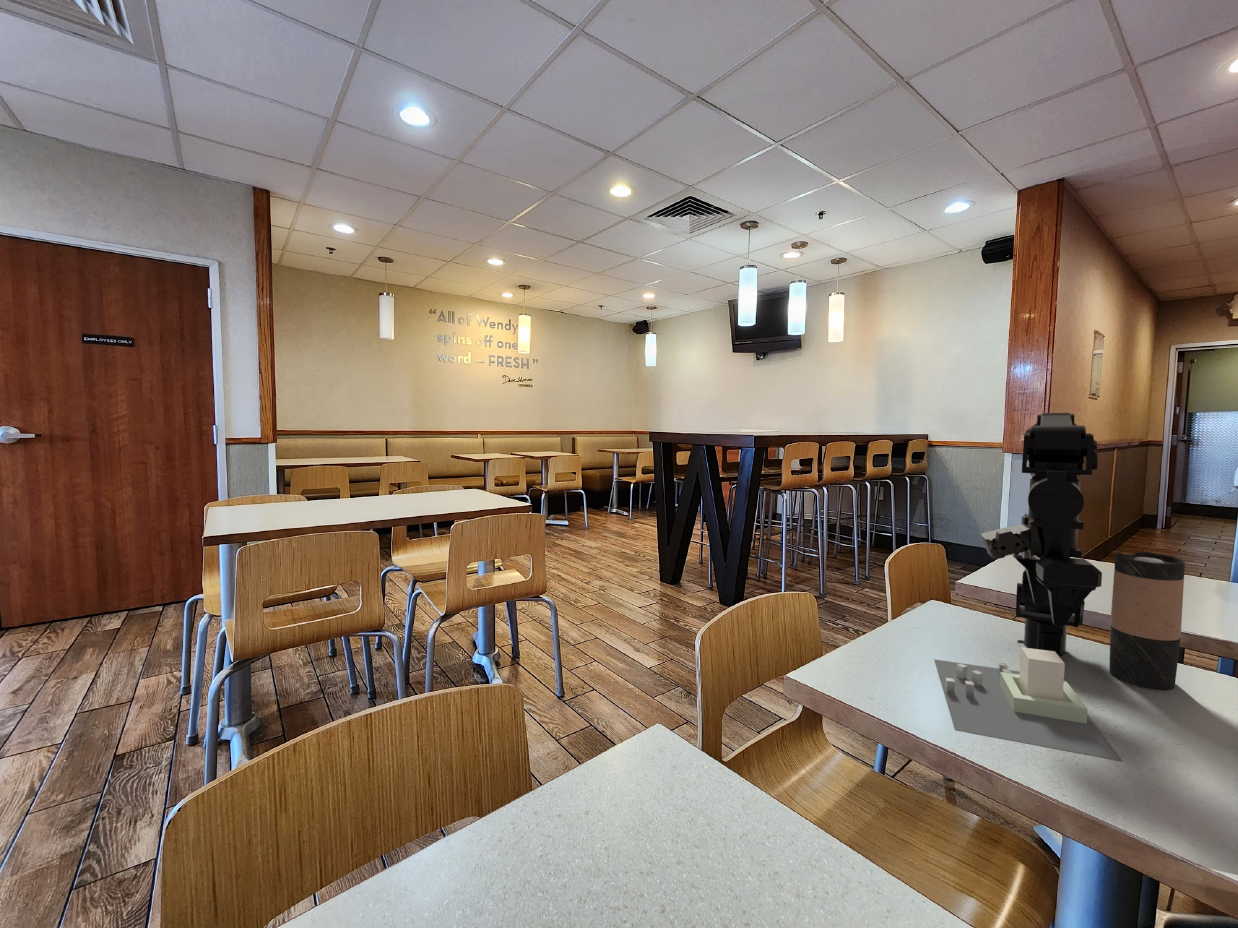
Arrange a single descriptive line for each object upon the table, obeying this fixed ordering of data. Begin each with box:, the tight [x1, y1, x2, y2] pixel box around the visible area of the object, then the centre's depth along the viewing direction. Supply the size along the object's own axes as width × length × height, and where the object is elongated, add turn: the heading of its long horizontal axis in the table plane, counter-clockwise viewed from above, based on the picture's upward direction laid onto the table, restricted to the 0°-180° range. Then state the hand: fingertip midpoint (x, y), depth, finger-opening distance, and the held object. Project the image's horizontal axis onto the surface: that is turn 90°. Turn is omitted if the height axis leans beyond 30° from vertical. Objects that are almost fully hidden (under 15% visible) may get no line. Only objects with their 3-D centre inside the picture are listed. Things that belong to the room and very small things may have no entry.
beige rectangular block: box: [1019, 646, 1066, 701], centre depth 76 cm, size 4×4×7 cm
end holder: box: [1000, 672, 1088, 724], centre depth 76 cm, size 8×8×2 cm
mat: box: [934, 658, 1124, 762], centre depth 77 cm, size 22×17×1 cm
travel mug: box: [1109, 551, 1186, 692], centre depth 82 cm, size 8×8×20 cm
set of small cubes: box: [946, 661, 1012, 698], centre depth 82 cm, size 10×9×2 cm
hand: (1047, 614), depth 80 cm, fingers open, 9 cm apart
